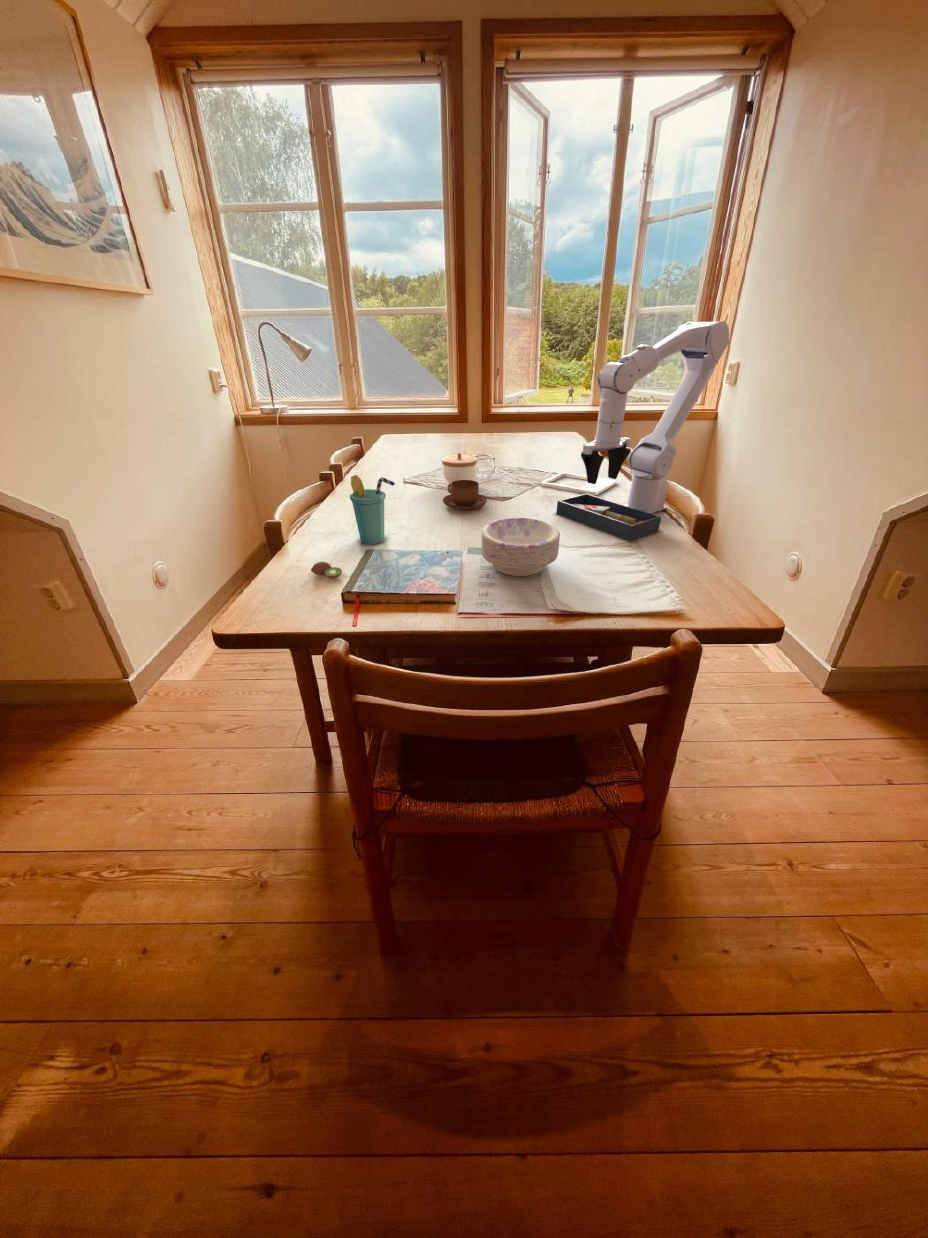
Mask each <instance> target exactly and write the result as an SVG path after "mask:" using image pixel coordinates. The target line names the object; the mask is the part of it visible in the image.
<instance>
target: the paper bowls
mask: <svg viewBox="0 0 928 1238" xmlns="http://www.w3.org/2000/svg"><path fill="white" fill-rule="evenodd" d="M481 529H482V530H481V543H480V544H481V545H480V547H481V556H482V557H483V559H484V560H485V561H486V562H487V563H490V564H491V565H492V566H493V567H494V569H495V570H496V571H498V572H500V573H502V574H504V575H507V576H511V577H512V576H513V577H527V576H528V577H529V576H532V575H536V574H538V573H540V572H542V571H543V570H544V569H545V567H546V566H549V564H552V563H553V562H555V561H556V560H557V559H558V555H559V551H560V536H561V533H560V530H559V529H558V527H557V526H555V525H554V524H552V523H550V522H548V521H546V520H542V519H538V518H533V517H532V518H531V517H521V516H519V517H518V516H517V517H516V516H514V517H503V518H499V519H495V520H491V521H490V522H488V523H486V524H485V525H484V526H483V527H482V528H481Z"/></svg>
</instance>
